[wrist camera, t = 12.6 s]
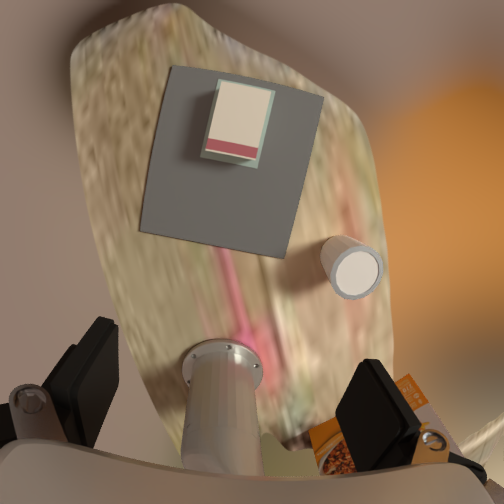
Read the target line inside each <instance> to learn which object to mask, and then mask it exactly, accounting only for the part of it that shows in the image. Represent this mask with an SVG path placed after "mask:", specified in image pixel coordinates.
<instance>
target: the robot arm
mask: <svg viewBox="0 0 504 504" xmlns="http://www.w3.org/2000/svg"><path fill="white" fill-rule="evenodd" d="M182 376H183V378H184V381H185V383H186V384H187V386H188V387H189V392H188V399H187V406H186V413H185V421H184V428H183V436H182V445H181V460H182V463H183V466H184V468H185V469H182V468H176V467H170V466H165V465H160V464H155V463H150V462H145V461H140V460H136V459H131V458H127V457H123V456H119V455H115V454H112V453H108V452H104V451H100V450H96V449H93V447H94V445H95V442H96V440H97V437H98V435H99V432H100V429H101V427H102V424H103V422H104V419H105V417H106V414H107V412H108V409H109V407H110V405H111V402H112V400H113V397H114V395H115V392H116V390H117V388H118V384H119V364H118V325H116V324H114V320H112V319H108V318H104V317H101V316H99V317H98V318H97V319H96V320H95V321H94V323H93V324H92V325H91V327H90V328H89V329H88V331H87V332H86V334H85V335H84V336H83V338H82V339H81V340H80V342H79V343H78V344H77V345H75V344H72V345H71V346H70V347H69V348H68V349H67V351H66V352H65V353H64V355H63V356H62V358H61V359H60V360H59V362H58V363H57V364H56V366H55V367H54V369H53V370H52V372H51V373H50V374H49V376H48V377H47V379H46V380H45V382H44V383H43V384H42V386H41V387H40V386H38V385H35V384H24V385H20V386H18V387H16V388H14V390H13V391H12V392H11V393H10V396H9V403H6V404H0V504H504V488H503V487H501V486H500V485H499V484H497V483H496V482H494V481H493V480H491V479H489V480H488V481H487V474H486V472H485V470H484V468H483V467H482V466H481V465H480V464H478V463H476V462H474V461H471V460H469V459H466V458H464V457H462V456H459V455H457V454H455V453H453V452H450V451H449V450H450V443H449V441H448V439H447V437H446V436H445V435H444V434H443V433H441V432H439V431H437V430H434V429H425V430H423V431H422V432H420V430H419V429H420V427H421V426H422V424H421V422H420V421H419V419H418V418H417V416H416V415H415V413H414V412H413V410H412V408H411V407H410V405H409V404H408V402H407V401H406V399H405V398H404V396H403V395H402V393H401V392H400V390H399V389H398V387H397V386H396V384H395V383H394V381H393V380H392V378H391V377H390V375H389V374H388V372H387V371H386V369H385V368H384V366H383V365H382V363H381V362H380V361H379V360H378V359H364V360H363V362H360V363H359V365H358V367H357V369H356V371H355V373H354V375H353V377H352V379H351V381H350V383H349V385H348V387H347V389H346V391H345V393H344V395H343V397H342V399H341V401H340V403H339V405H338V407H337V409H336V418H337V421H338V424H339V426H340V429H341V431H342V434H343V437H344V439H345V442H346V444H347V447H348V450H349V452H350V455H351V458H352V460H353V463H354V466H355V468H356V471H357V473H349V474H338V475H324V476H301V477H268V476H267V477H266V476H265V475H264V469H263V461H262V453H261V445H260V435H259V426H258V416H257V407H256V397H255V390H256V388H257V387H258V386H259V385H260V383H261V380H262V377H263V367H262V362H261V360H260V358H259V356H258V355H257V354H256V353H255V352H254V351H253V350H252V349H251V348H250V347H248V346H246V345H244V344H243V343H240V342H237V341H233V340H228V339H214V340H209V341H205V342H202V343H200V344H198V345H196V346H195V347H193V348H192V349H191V350H190V351H189V352H188V353H187V354H186V356H185V358H184V361H183V365H182Z"/></svg>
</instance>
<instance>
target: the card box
mask: <svg viewBox="0 0 504 504" xmlns="http://www.w3.org/2000/svg"><path fill="white" fill-rule="evenodd" d="M270 95H271V91H267V90H263V89H258V88H254V87H249V86H244V85H239V84H234V83H229V82H223V81H222V82H221V86H220V89H219V93H218V98H217V102H216V106H215V110H214V114H213V118H212V123H211V127H210V132H209V136H208V140H207V145H206V151H211V152H216V153H222V154H227V155H232V156H237V157H241V158H246V159H251V160H256V156H257V151H258V147H259V142H260V138H261V134H262V129H263V125H264V121H265V117H266V112H267V108H268V104H269V100H270Z"/></svg>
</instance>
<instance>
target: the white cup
mask: <svg viewBox="0 0 504 504" xmlns="http://www.w3.org/2000/svg"><path fill="white" fill-rule="evenodd" d="M320 260H321V264H322V266H323V268H324V270H325V272H326V275H327V277H328V279H329V281H330V283H331V285H332V287H333V289H334V290H335V292H336V294H338V295H339V296H341V297H343V298H344V299H351V300H356V299H360V298H364V297H365V296H367V295H368V294H370V293H371V292H373V291H374V289H375V288H376V287H377V286H378V284H379V283H380V280H381V278H382V275H383V261H382V259H381V257H380V255H379V253H378V252H376V251H375V250H374V249H373V248H371V247H369V246H367V245H365V244H363V243H361V242H359V241H357V240H355V239H353V238H351V237H349V236H346V235H336V236H333V237H331V238H330V239H328V240H327V241H326V242H325V244H324V245H323V246H322V249H321V252H320Z"/></svg>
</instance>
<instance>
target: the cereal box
mask: <svg viewBox="0 0 504 504" xmlns="http://www.w3.org/2000/svg"><path fill="white" fill-rule="evenodd" d="M395 384H396V386H397V387H398V389H399V390H400V392H401V393H402V395H403V396H404V398H405V399H406V401H407V402H408V404H409V405H410V407H411V408H412V410H413V412H414V413H415V415H416V416H417V418H418V419H419V421H420V422H421V424H422V426H421V427H420V429H419V430H420V432H422V431H423V430H425V429H434V430H437V431H439V432H441V433H443V434H444V435H445V436H446V437H447V439H448V441H449V443H450V450H449V451H450V452H453V453H455V454H457V455H459V456H462V457H464V456H463V454H462V453H461V451H460V449H459V448H458V446H457V445H456V443H455V442H454V440H453V438H452V437H451V435H450V434H449V432H448V430H447V429H446V427H445V426H444V424H443V423H442V421H441V420H440V418H439V417H438V415H437V414H436V412H435V411H434V409H433V408H432V406H431V405H430V403H429V402H428V400H427V399H426V398H425V396H424V395H423V393H422V391H421V390H420V388H419V387H418V386H417V384H416V383H415V381H414V380H413V378H412V377H411V375H410V374H408V375H406V376H405V377H403V378H402V379H400V380H398V381H397V382H395ZM308 431H309V435H310V439H311V443H312V446H313V450H314V454H315V458H316V462H317V466H318V469H319V473H320V476H324V475H338V474H349V473H357V471H356V468H355V466H354V463H353V460H352V458H351V455H350V452H349V450H348V447H347V444H346V442H345V439H344V437H343V434H342V431H341V429H340V426H339V424H338V421H337V418H336V417H334V418H332V419H330V420H328V421H326V422H324V423H322V424H320V425H318V426H316V427H314V428H311V429H309V430H308ZM464 458H465V457H464Z"/></svg>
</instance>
